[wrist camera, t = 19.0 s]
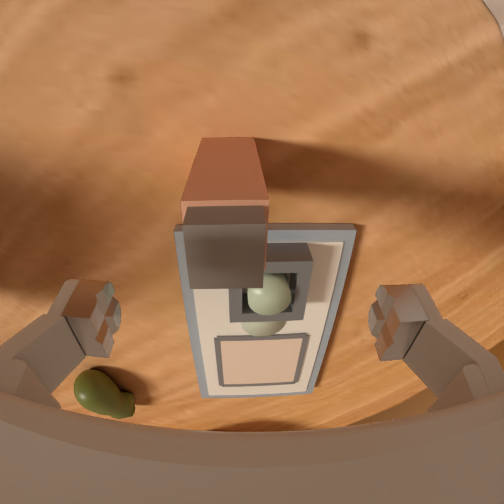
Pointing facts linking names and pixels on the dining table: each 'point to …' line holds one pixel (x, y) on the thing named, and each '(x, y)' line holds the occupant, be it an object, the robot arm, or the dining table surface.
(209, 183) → the terracotta rectangular block
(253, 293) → the button
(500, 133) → the dining table surface
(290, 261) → the button housing
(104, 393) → the pear
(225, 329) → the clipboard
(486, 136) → the dining table surface
